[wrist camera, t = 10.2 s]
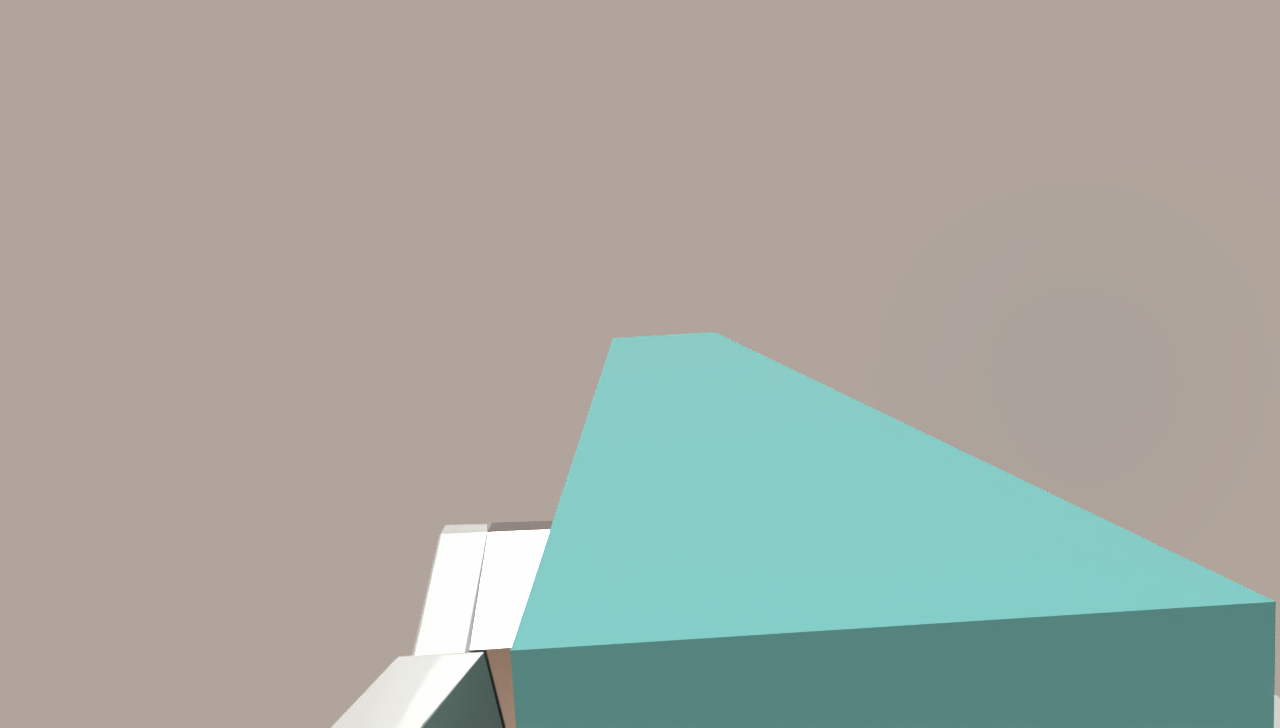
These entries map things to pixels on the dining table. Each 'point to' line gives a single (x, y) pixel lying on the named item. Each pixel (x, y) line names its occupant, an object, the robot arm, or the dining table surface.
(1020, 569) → the teal bar
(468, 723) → the robot arm
